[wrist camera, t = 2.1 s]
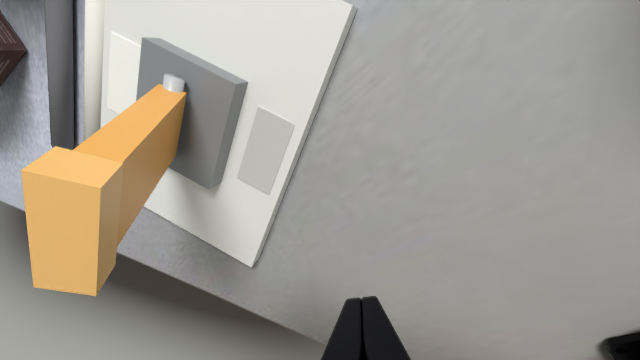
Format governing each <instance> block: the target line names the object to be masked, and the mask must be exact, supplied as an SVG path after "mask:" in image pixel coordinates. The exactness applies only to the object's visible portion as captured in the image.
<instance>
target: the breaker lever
mask: <svg viewBox="0 0 640 360" xmlns="http://www.w3.org/2000/svg"><path fill="white" fill-rule="evenodd" d="M184 84H185V79H184V78H183V77H181V76H178V75H175V74H169V73H167V74H164V80H163V85H161V84H158V85H157V86H156V87H154V88H153V89H152V90H150V91H149V92H148V93H146V94H145V95H144V96H143V97H141V98H140V99H139V100H137V101H136V102H135V103H133V104H132V105H131V106H129V107H128V108H127V109H126V110H124V111H123V112H122V113H120V114H119V115H118V116H116V117H115V118H114V119H113V120H111V121H110V122H109V123H107V124H106V125H105V126H103V127H102V128H101V129H100V130H98V131H97V132H96V133H94V134H93V135H92V136H90V137H89V138H88V139H86V140H85V141H84V142H83V143H81V144H80V145H79V146H77V147H76V148H75V149H73V150H69V149H65V148H61V147H57V146H55V147H54V148H52V149H51V150H50V151H48V152H47V153H45V154H44V155H42V156H41V157H40V158H38V159H37V160H35V161H34V162H32V163H31V164H29V165H28V166H27V167H25V168H24V169H22V170H21V173H22V182H23V192H24V201H25V211H26V220H27V230H28V239H29V248H30V258H31V267H32V277H33V286H34V287H36V288H43V289H51V290H58V291H64V292H71V293H80V294H86V295H93V296H97V294H98V292H99V291H100V289H101V287H102V286H103V284H104V282H105V281H106V279H107V277H108V276H109V274H110V272H111V271H112V269H113V268H114V266H115V262H116V250H117V246H118V245H119V243H120V242H121V240H122V238H123V237H124V235H125V234H126V232H127V231H128V229H129V228H130V226H131V224H132V223H133V221H134V220H135V218H136V217H137V215H138V214H139V212H140V210H141V209H142V207H143V206H144V204H145V203H146V201H147V200H148V198H149V196H150V195H151V193H152V192H153V190H154V189H155V187H156V186H157V184H158V183H159V181H160V179H161V178H162V176H163V175H164V173H165V172H166V170H167V169H168V167H169V165H170V164H171V162H172V161H173V159H174V158H175V156H176V152H177V147H178V141H179V135H180V129H181V124H182V118H183V112H184V106H185V100H186V95H187V93H186V92H183V89H184Z"/></svg>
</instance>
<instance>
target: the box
mask: <svg viewBox="0 0 640 360" xmlns="http://www.w3.org/2000/svg"><path fill="white" fill-rule="evenodd" d="M25 52H26V48H25V46H24V45H23V44H22V42H21V41H20V39H19V38H18V36H17V35H16V33H15V32H14V31H13V29H12V28H11V27H10V25H9V24H8V22H7V21H6V19H5V18H4V17H3V16H2V14H1V13H0V85H1V83H2V82H3V81H4V80H5V78H6V77H7V75H8V74H9V73H10V72H11V70H12V69H13V67H14V66H15V65H16V63H17V62H18V61H19V60H20V58H21V57H22V56H23V54H24V53H25Z"/></svg>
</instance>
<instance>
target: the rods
mask: <svg viewBox="0 0 640 360" xmlns="http://www.w3.org/2000/svg"><path fill="white" fill-rule="evenodd" d="M44 8H45V29H46V50H47V70H48V91H49V112H50V132H51V145H52V147H53V148H54V147H55V146H57V147H61V148H65V149H69V150H72V148H73V146H74V96H73V0H44ZM104 18H105V0H85V52H84V141H85V140H86V139H88V138H89V137H90V136H92V135H93V134H94V133H96V132H97V131H98V130H100V126H101V99H102V72H103V45H104Z"/></svg>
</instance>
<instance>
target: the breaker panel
mask: <svg viewBox="0 0 640 360" xmlns="http://www.w3.org/2000/svg"><path fill="white" fill-rule="evenodd" d="M357 9H358V8H356V7H355V6H353V5H351V4H349V3H347V2H345V1H342V0H105V18H104V45H103V72H102V99H101V126H100V129H101V128H102V127H103V126H105V125H106V124H107V123H109V122H110V121H111V120H113V119H114V118H115V117H116V116H118V115H119V114H120V113H122V112H123V111H124V110H126V109H127V108H128V107H129V106H131V105H132V104H133V103H135V102H136V101H137V100H139V99H140V98H141V97H143V96H144V95H145V94H146V93H148V92H149V91H150V90H152V89H153V88H154V87H156V86H157V85H158V84H161V85H163V80H164V74H167V73H169V74H175V75H178V76H181V77H183V78H184V79H185V84H184V89H183V92H186V93H187V95H186V100H185V106H184V112H183V118H182V124H181V129H180V135H179V141H178V147H177V152H176V156H175V158H174V159H173V161H172V162H171V164H170V165H169V167H168V169H167V170H166V172H165V173H164V175H163V176H162V178H161V179H160V181H159V183H158V184H157V186H156V187H155V189H154V190H153V192H152V193H151V195H150V196H149V198H148V200H147V201H146V203H145V204H144V206H145V207H146V208H148V209H150V210H152V211H153V212H155V213H157V214H159V215H160V216H162V217H164V218H166V219H167V220H169V221H171V222H173V223H174V224H176V225H178V226H180V227H181V228H183V229H185V230H187V231H188V232H190V233H192V234H194V235H195V236H197V237H199V238H201V239H202V240H204V241H206V242H208V243H209V244H211V245H213V246H215V247H216V248H218V249H220V250H221V251H223V252H225V253H227V254H228V255H230V256H232V257H234V258H235V259H237V260H239V261H241V262H242V263H244V264H246V265H248V266H249V267H252V266H253V265H254V264H255V262H256V261H257V260H258V259H259V257H260V254H261V252H262V249H263V247H264V244H265V242H266V239H267V237H268V234H269V232H270V229H271V227H272V224H273V222H274V219H275V216H276V214H277V211H278V209H279V206H280V204H281V201H282V199H283V196H284V194H285V191H286V189H287V186H288V184H289V181H290V178H291V176H292V173H293V171H294V168H295V166H296V163H297V161H298V158H299V156H300V153H301V151H302V148H303V146H304V143H305V140H306V138H307V135H308V133H309V130H310V128H311V125H312V123H313V120H314V118H315V115H316V113H317V110H318V108H319V105H320V102H321V100H322V97H323V95H324V92H325V90H326V87H327V85H328V82H329V80H330V77H331V75H332V72H333V69H334V67H335V64H336V62H337V59H338V57H339V54H340V52H341V49H342V47H343V44H344V42H345V39H346V37H347V34H348V31H349V29H350V26H351V24H352V21H353V19H354V16H355V14H356V11H357Z"/></svg>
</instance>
